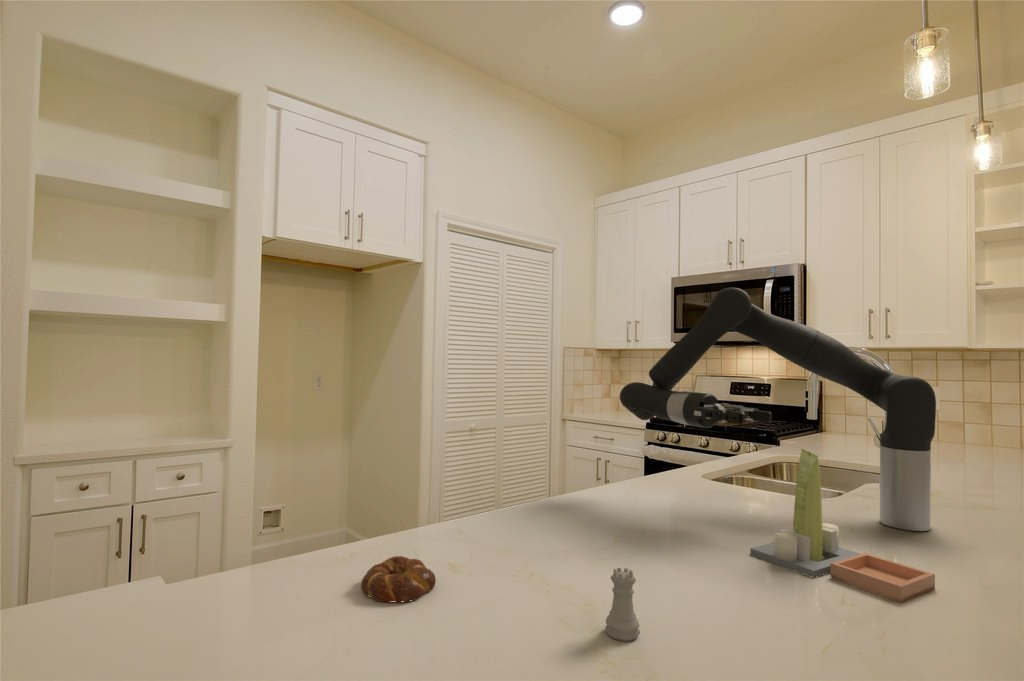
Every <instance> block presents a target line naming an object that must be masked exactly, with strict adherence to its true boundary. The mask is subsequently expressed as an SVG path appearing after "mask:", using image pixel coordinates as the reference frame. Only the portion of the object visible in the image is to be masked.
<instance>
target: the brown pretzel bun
mask: <svg viewBox="0 0 1024 681" xmlns="http://www.w3.org/2000/svg"><path fill="white" fill-rule="evenodd" d="M436 581H437V580H436V575H435V573H434V572H433V571H432V570H431V569H429V568H428V567H426V566H425V564H424V563H423V561H421V560H420V559H418V558H408V557H406V556H401V555H397V556H396V555H395V556H392V557H388V558H387V559H385V560H384V561H382V562H381V563H378V564H375V565H373V566H371V567H370V569H368V570H367V572H366V574H364V576H363V578H362V580H361V585H360V589H361V590H362V593H363V594H364V593H365V594H366V596H367V595H369V596H371V597H370V598H372V597H373V598H372V599H374V600H376V599H377V600H376V601H378V600H380V601H379V602H382V601H396V602H395V603H398V602H401V601H410V600H414V601H416V600H415V599H417V598H419V597H420V598H422V596H423V595H424V594H425V592H427V593H429V592H428V591H430V590H431V591H432V590H433V589H434V587H435V586H436ZM431 591H430V592H431ZM365 594H364V595H365ZM369 596H368V597H369ZM420 598H419V599H420ZM417 600H418V599H417ZM410 602H411V601H410Z"/></svg>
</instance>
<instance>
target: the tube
mask: <svg viewBox="0 0 1024 681" xmlns="http://www.w3.org/2000/svg"><path fill="white" fill-rule="evenodd" d="M800 451H801V452H800V455H799V460H798V461H799V462H798V466H797V474H796V475H797V476H796V484H795V495H794V508H793V521H792V522H793V525H792V526H793V528H792V532H794V533H798V534H801V535H804V536H807V537H810V560H813V561H816V562H820V561H823V556H822V523H823V507H822V506H823V505H822V485H821V472H820V471H821V470H820V462H819V455H818V454H815V453H813V452H811V451H809V450H807V449H805V448H803V447H801V449H800Z"/></svg>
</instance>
